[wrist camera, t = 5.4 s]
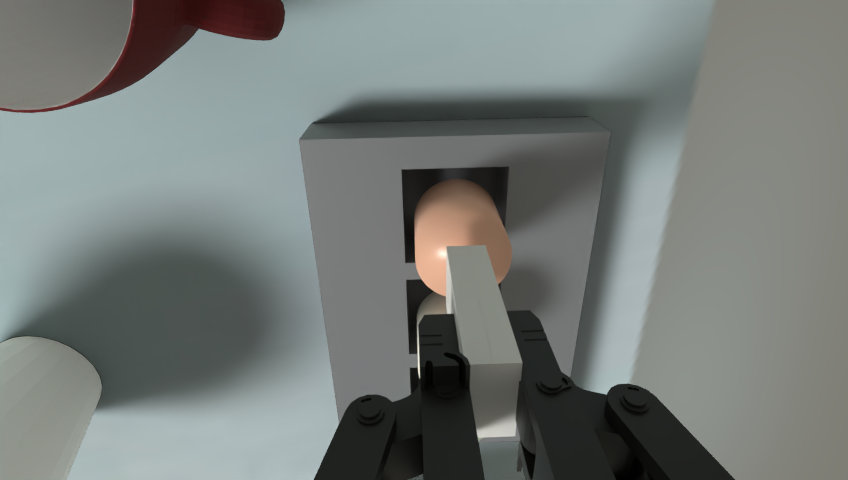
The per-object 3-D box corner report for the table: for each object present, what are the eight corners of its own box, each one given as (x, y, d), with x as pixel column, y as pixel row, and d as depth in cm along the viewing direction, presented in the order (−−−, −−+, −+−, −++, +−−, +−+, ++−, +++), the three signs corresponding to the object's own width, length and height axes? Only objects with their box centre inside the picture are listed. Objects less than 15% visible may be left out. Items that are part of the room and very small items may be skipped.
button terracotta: (413, 180, 22) (414, 215, 19) (498, 177, 22) (515, 212, 19) (415, 254, 24) (416, 300, 20) (494, 252, 24) (509, 297, 20)
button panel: (311, 123, 24) (299, 139, 21) (588, 116, 24) (610, 131, 21) (347, 410, 33) (342, 447, 30) (547, 403, 33) (559, 439, 31)
